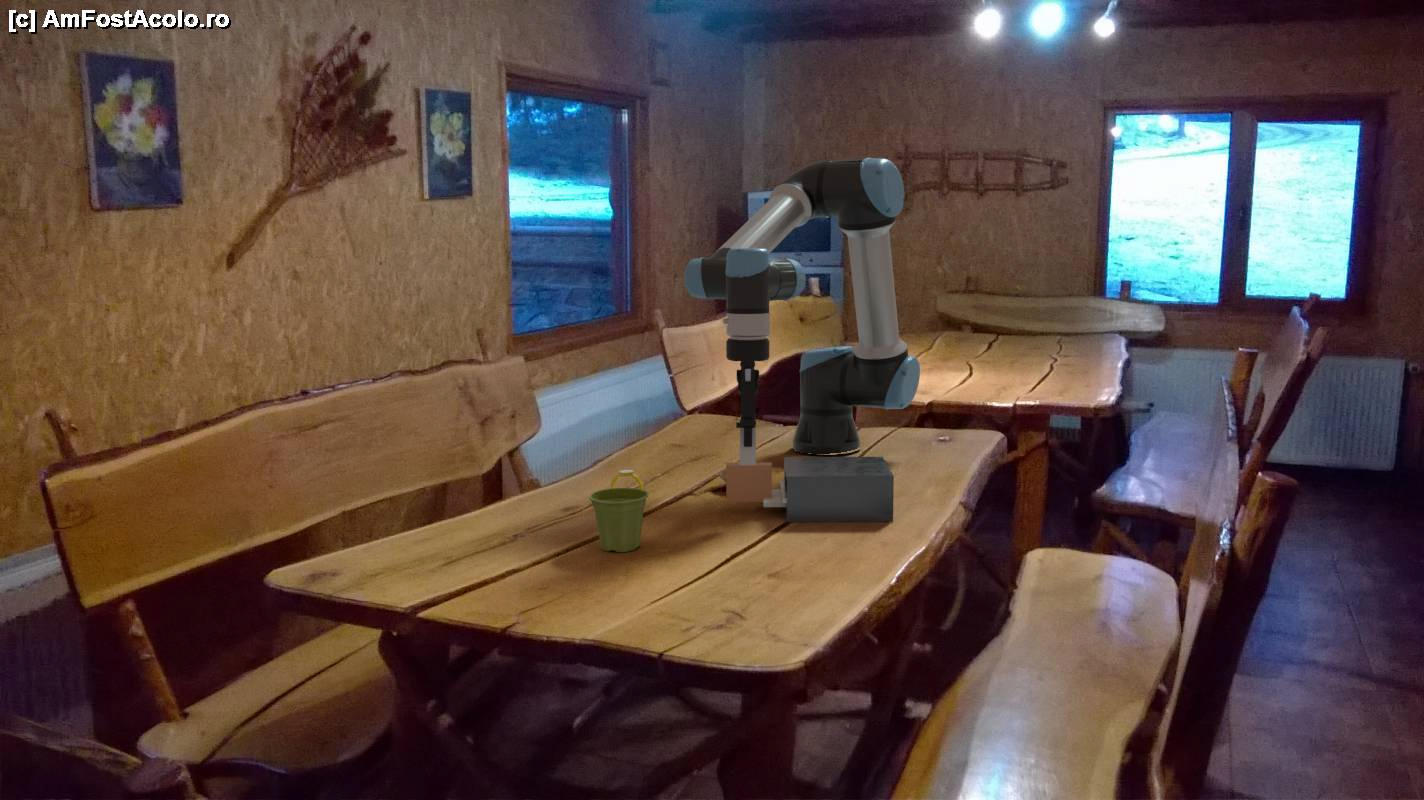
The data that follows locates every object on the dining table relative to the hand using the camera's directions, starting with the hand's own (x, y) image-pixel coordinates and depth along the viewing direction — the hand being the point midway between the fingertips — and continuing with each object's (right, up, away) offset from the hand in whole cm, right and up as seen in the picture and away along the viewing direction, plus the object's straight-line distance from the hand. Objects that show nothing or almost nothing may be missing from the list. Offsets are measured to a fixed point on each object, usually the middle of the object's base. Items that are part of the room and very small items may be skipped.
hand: (747, 457), depth 199 cm
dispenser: (+16, -9, +1) cm, 18 cm away
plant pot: (-21, -13, -20) cm, 32 cm away
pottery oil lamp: (0, -7, +21) cm, 22 cm away
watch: (-22, -9, +9) cm, 26 cm away
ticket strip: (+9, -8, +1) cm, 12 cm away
